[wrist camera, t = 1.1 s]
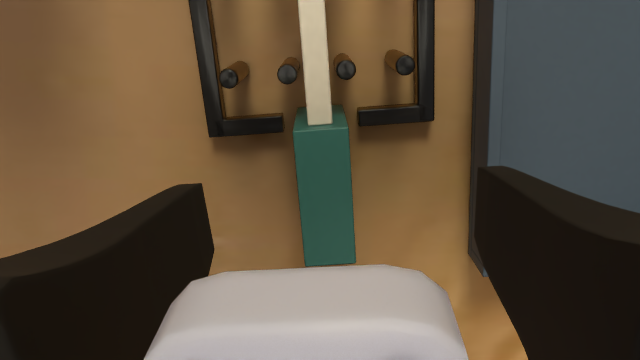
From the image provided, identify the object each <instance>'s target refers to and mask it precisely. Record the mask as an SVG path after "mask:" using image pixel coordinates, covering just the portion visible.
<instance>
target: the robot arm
mask: <svg viewBox="0 0 640 360" xmlns="http://www.w3.org/2000/svg"><path fill="white" fill-rule="evenodd" d="M474 238H475V242H476V245H477V248H478V251H479V255H480V258H481V261H482V263H483V266H484V269H485V271H486V273H487V275H488V277H489V279H490V281H491V283H492V285H493V287H494V289H495V291H496V293H497V295H498V296H499V298H500V300H501V302H502V304H503V306H504V308H505V310H506V312H507V314H508V316H509V318H510V320H511V322H512V324H513V326H514V328H515V329H516V331H517V333H518V336H519V338H520V340H521V342H522V345H523V347H524V349H525V352H526V354H527V357H528V360H640V213H637V212H633V211H629V210H626V209H622V208H618V207H614V206H611V205H607V204H604V203H601V202H598V201H595V200H592V199H589V198H586V197H583V196H581V195H578V194H575V193H572V192H570V191H567V190H565V189H562V188H560V187H557V186H555V185H552V184H550V183H547V182H545V181H543V180H540V179H538V178H536V177H533V176H531V175H528V174H526V173H524V172H521V171H519V170H516V169H513V168H510V167H507V166H486V167H478V171H477V189H476V208H475V227H474ZM213 254H214V245H213V239H212V234H211V229H210V224H209V219H208V214H207V208H206V203H205V198H204V193H203V188H202V183H198V184H181V185H176V186H173V187H171V188H168V189H166V190H164V191H162V192H160V193H158V194H156V195H154V196H152V197H150V198H148V199H147V200H145V201H143V202H141V203H139V204H137V205H135V206H133V207H132V208H130V209H128V210H126V211H124V212H122V213H120V214H118V215H116V216H114V217H112V218H110V219H108V220H106V221H104V222H102V223H100V224H97V225H95V226H93V227H91V228H89V229H87V230H84V231H82V232H79V233H77V234H74V235H72V236H69V237H67V238H64V239H62V240H59V241H56V242H53V243H51V244H48V245H44V246H41V247H38V248H35V249H31V250H28V251H25V252H22V253H19V254H15V255H12V256H8V257H5V258H1V259H0V360H469V359H468V356H467V352H466V349H465V346H464V343H463V340H462V337H461V334H460V331H459V328H458V325H457V322H456V318H455V315H454V312H453V309H452V306H451V303H450V300H449V297H448V294H447V292H446V291H445V290H444V289H443V288H441V287H440V286H439V285H438V284H436V283H435V282H434V281H432V280H431V279H430V278H429V277H427V276H426V275H425V274H424V273H422V272H421V271H418V270H413V269H407V268H401V267H396V266H390V265H384V264H378V265H357V266H335V267H314V268H293V269H271V270H250V271H229V272H222V273H219V274H215V275H212V276H208V274H209V271H210V267H211V263H212V258H213Z"/></svg>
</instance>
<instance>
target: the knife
mask: <svg viewBox="0 0 640 360" xmlns="http://www.w3.org/2000/svg"><path fill="white" fill-rule="evenodd" d="M298 11H299V23H300V35H301V48H302V60H303V72H304V84H305V96H306V107H300V108H297V113H296V118H295V123H294V128H293V142H294V153H295V164H296V175H297V185H298V196H299V207H300V218H301V228H302V239H303V250H304V261H305V266H306V267H309V266H324V265H338V264H353V263H356V252H355V234H354V216H353V198H352V180H351V161H350V143H349V128H348V124H347V120H346V117H345V113H344V110H343V106H342V105H331V90H330V75H329V59H328V44H327V29H326V14H325V0H298Z"/></svg>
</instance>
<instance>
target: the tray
mask: <svg viewBox="0 0 640 360" xmlns="http://www.w3.org/2000/svg"><path fill="white" fill-rule="evenodd" d="M486 166H507V167H510V168H513V169H516V170H519V171H521V172H524V173H526V174H528V175H531V176H533V177H536V178H538V179H540V180H543V181H545V182H547V183H550V184H552V185H555V186H557V187H560V188H562V189H565V190H567V191H570V192H572V193H575V194H578V195H581V196H583V197H586V198H589V199H592V200H595V201H598V202H601V203H604V204H607V205H611V206H614V207H618V208H622V209H626V210H629V211H633V212H637V213H640V0H476V1H475V36H474V72H473V108H472V144H471V179H470V215H469V251H468V254H469V255H470V257H471V258H472V260H473V261H474V263H475V265H476V266H477V268H478V269H479V271H480V273H481V274H482V276H483V277H488V275H487V273H486V271H485V269H484V266H483V263H482V261H481V258H480V255H479V251H478V248H477V245H476V242H475V238H474V227H475V208H476V189H477V171H478V167H486Z"/></svg>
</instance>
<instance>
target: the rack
mask: <svg viewBox="0 0 640 360" xmlns="http://www.w3.org/2000/svg"><path fill="white" fill-rule="evenodd" d="M189 7H190V13H191V20H192V27H193V33H194V40H195V47H196V53H197V60H198V67H199V73H200V80H201V87H202V93H203V100H204V107H205V113H206V120H207V127H208V133H209V137H224V136H238V135H251V134H265V133H279V132H284V128H285V127H284V117H283V113H274V114H260V115H246V116H233V117H226V114H225V107H224V99H223V92H222V86H223V87H225V88H228V89H230V88H234V87H235V86H236V85H237V84H238V83H239V82H241V81H242V80H243V79H244V78H245V77H246V76H247V75H248V73H249V67H248V65H247V64H246V63H245V62H243V61H237V62H235V63H234V64H232V65H231V66H229V67H227V68H226V69H224V70H222V71H221V73H220V70H219V63H218V55H217V48H216V41H215V33H214V26H213V19H212V12H211V4H210V0H189ZM434 45H435V0H414V59H413V58H412V57H410V56H408V55H406V54H404V53H402V52H400V51H398V50H394V49H393V50H389V51H388V52H387V53H386V55H385V63H386V64H387V65H388V66H389V67H391V68H392V69H393V70H395V71H396V72H398V73H399V74H400V75H409V74H411V73H412V72H413V70H414V68H415V103H411V104H397V105H384V106H370V107H358V108H357V117H358V124H359V126H373V125H387V124H401V123H415V122H427V121H434ZM334 66H335V69H336V72H337V75H338V76H339V77H340V78H341V79H343V80H348V79H351V78H352V77H353V76H354V75H355V73H356V67H355V64H354V63H353V62H352V60H351V59H350V58H349V56H348V55H346V54H344V53H340V54H338V55H337V56H336V57H335V58H334ZM299 68H300V64H299V61H298V60H297V59H296V58H294V57H289V58H287V59H285V60H284V62H283V63H282V65H281V66H280V68H279V69H278V72H277V76H278V79H279V80H280V81H281V82H282V83H284V84H291V83H293V82H294V81H295V80H296V78H297V75H298V71H299Z"/></svg>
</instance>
